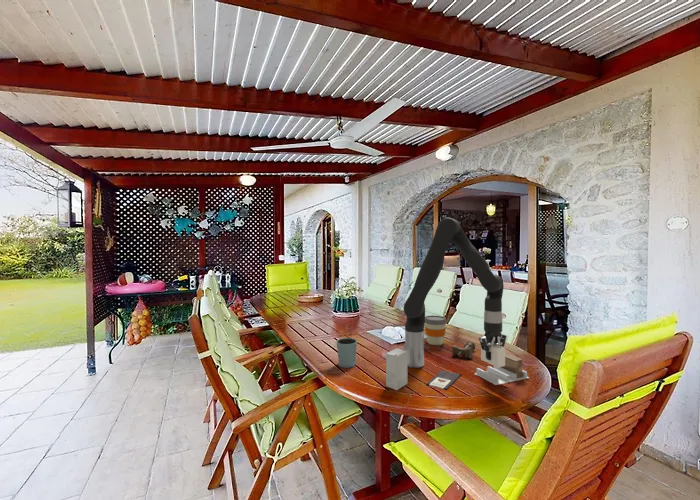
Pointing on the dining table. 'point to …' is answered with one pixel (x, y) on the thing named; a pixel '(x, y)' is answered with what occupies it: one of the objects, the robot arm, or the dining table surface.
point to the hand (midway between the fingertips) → (492, 358)
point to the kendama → (464, 350)
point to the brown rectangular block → (513, 365)
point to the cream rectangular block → (495, 355)
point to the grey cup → (347, 352)
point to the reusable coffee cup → (435, 329)
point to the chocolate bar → (443, 379)
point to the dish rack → (499, 375)
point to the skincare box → (396, 368)
